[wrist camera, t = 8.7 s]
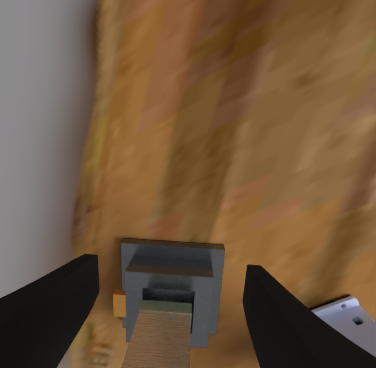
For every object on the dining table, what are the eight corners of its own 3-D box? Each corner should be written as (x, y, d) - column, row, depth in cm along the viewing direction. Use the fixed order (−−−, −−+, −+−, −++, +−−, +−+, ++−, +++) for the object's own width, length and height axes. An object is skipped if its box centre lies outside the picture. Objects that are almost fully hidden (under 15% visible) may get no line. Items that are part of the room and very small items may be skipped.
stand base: (223, 244, 21) (229, 266, 17) (215, 325, 23) (218, 358, 20) (124, 238, 21) (110, 258, 18) (125, 319, 23) (114, 350, 20)
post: (191, 303, 17) (189, 402, 11) (189, 343, 18) (185, 456, 12) (142, 299, 17) (111, 396, 11) (142, 339, 18) (113, 450, 12)
